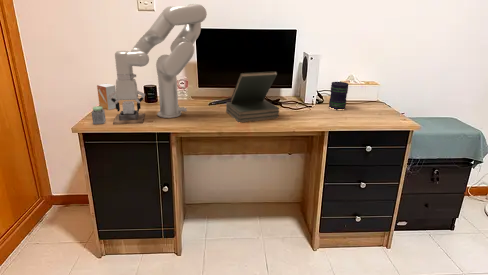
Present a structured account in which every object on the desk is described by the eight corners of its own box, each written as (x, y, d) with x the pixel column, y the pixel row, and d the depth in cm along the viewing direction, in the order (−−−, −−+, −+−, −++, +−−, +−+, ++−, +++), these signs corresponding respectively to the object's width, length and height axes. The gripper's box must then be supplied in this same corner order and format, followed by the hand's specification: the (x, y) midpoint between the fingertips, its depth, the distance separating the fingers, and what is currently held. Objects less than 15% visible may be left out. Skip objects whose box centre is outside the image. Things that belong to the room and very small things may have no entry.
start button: (104, 119, 173) (103, 106, 171) (103, 122, 169) (101, 108, 167) (95, 119, 173) (93, 106, 170) (93, 122, 169) (91, 108, 166)
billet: (135, 116, 179) (133, 101, 176) (134, 118, 174) (132, 103, 172) (125, 116, 178) (123, 101, 175) (123, 119, 174) (122, 103, 171)
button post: (105, 120, 174) (104, 109, 172) (103, 123, 169) (102, 112, 167) (95, 121, 173) (93, 109, 171) (93, 124, 169) (91, 112, 166)
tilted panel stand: (263, 109, 201) (265, 66, 192) (278, 119, 184) (281, 72, 175) (226, 112, 193) (226, 68, 184) (238, 123, 176) (239, 74, 167)
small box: (99, 107, 196) (96, 84, 191) (109, 105, 201) (106, 83, 196) (108, 110, 191) (105, 87, 187) (118, 107, 196) (115, 85, 192)
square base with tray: (144, 115, 184) (144, 108, 183) (142, 123, 172) (142, 116, 170) (117, 115, 182) (116, 109, 180) (113, 124, 169) (112, 117, 168)
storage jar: (347, 110, 201) (350, 85, 196) (330, 110, 201) (333, 85, 196) (343, 106, 211) (346, 81, 205) (327, 105, 211) (329, 81, 205)
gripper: (144, 75, 174) (146, 107, 180) (108, 75, 171) (111, 109, 177) (143, 78, 167) (145, 112, 173) (105, 78, 164) (109, 113, 170)
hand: (128, 110), depth 175 cm, fingers open, 9 cm apart
